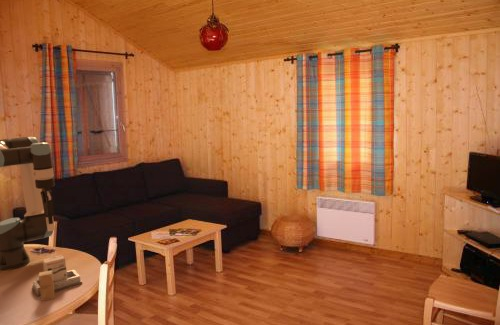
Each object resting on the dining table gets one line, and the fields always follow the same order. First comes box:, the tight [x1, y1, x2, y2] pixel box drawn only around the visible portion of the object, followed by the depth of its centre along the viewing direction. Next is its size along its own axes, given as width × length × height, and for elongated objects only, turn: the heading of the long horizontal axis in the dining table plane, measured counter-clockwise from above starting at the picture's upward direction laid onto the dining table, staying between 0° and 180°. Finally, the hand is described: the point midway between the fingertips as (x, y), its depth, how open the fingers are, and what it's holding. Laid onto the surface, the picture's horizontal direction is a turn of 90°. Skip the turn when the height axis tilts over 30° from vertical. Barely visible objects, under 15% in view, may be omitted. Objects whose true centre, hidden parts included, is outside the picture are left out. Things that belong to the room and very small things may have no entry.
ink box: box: [42, 254, 68, 282], centre depth 183 cm, size 8×5×12 cm, turn 127°
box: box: [38, 270, 56, 302], centre depth 172 cm, size 5×4×11 cm
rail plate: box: [31, 269, 83, 298], centre depth 184 cm, size 12×18×4 cm, turn 128°
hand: (51, 230), depth 183 cm, fingers closed
